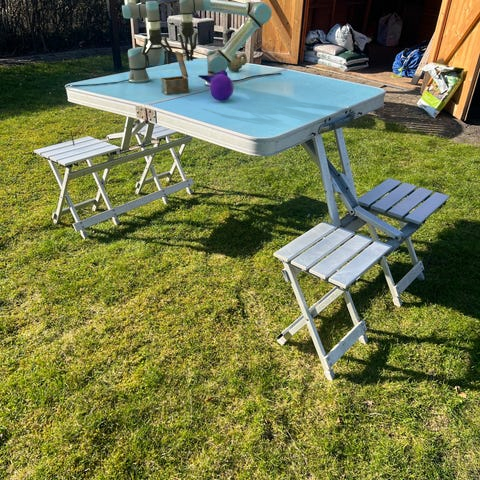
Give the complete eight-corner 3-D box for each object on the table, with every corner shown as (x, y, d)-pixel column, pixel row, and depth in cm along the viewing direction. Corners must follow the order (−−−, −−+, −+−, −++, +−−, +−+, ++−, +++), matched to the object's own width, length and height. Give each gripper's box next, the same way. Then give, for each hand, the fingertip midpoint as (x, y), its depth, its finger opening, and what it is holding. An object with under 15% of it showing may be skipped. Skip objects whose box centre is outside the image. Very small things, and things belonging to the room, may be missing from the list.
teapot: (227, 73, 359) (226, 53, 351) (220, 71, 367) (219, 51, 360) (250, 70, 368) (249, 51, 360) (242, 68, 376) (242, 49, 369)
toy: (220, 92, 299) (233, 106, 278) (195, 88, 292) (206, 102, 271) (226, 68, 291) (240, 80, 270) (200, 63, 284) (212, 75, 263)
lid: (180, 53, 289) (192, 49, 291) (174, 51, 298) (186, 47, 300) (187, 77, 298) (198, 73, 300) (182, 75, 307) (193, 71, 309)
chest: (167, 94, 298) (165, 80, 293) (162, 91, 307) (161, 78, 302) (189, 92, 303) (187, 78, 299) (183, 89, 312) (182, 75, 307)
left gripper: (136, 30, 274) (141, 67, 285) (175, 28, 283) (178, 64, 294) (133, 29, 280) (138, 65, 290) (171, 27, 289) (174, 62, 300)
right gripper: (177, 22, 282) (181, 62, 294) (199, 21, 287) (202, 60, 299) (174, 22, 288) (177, 60, 300) (195, 20, 293) (198, 59, 305)
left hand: (158, 65), depth 292 cm, fingers open, 13 cm apart
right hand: (189, 60), depth 300 cm, fingers closed on lid, 2 cm apart
